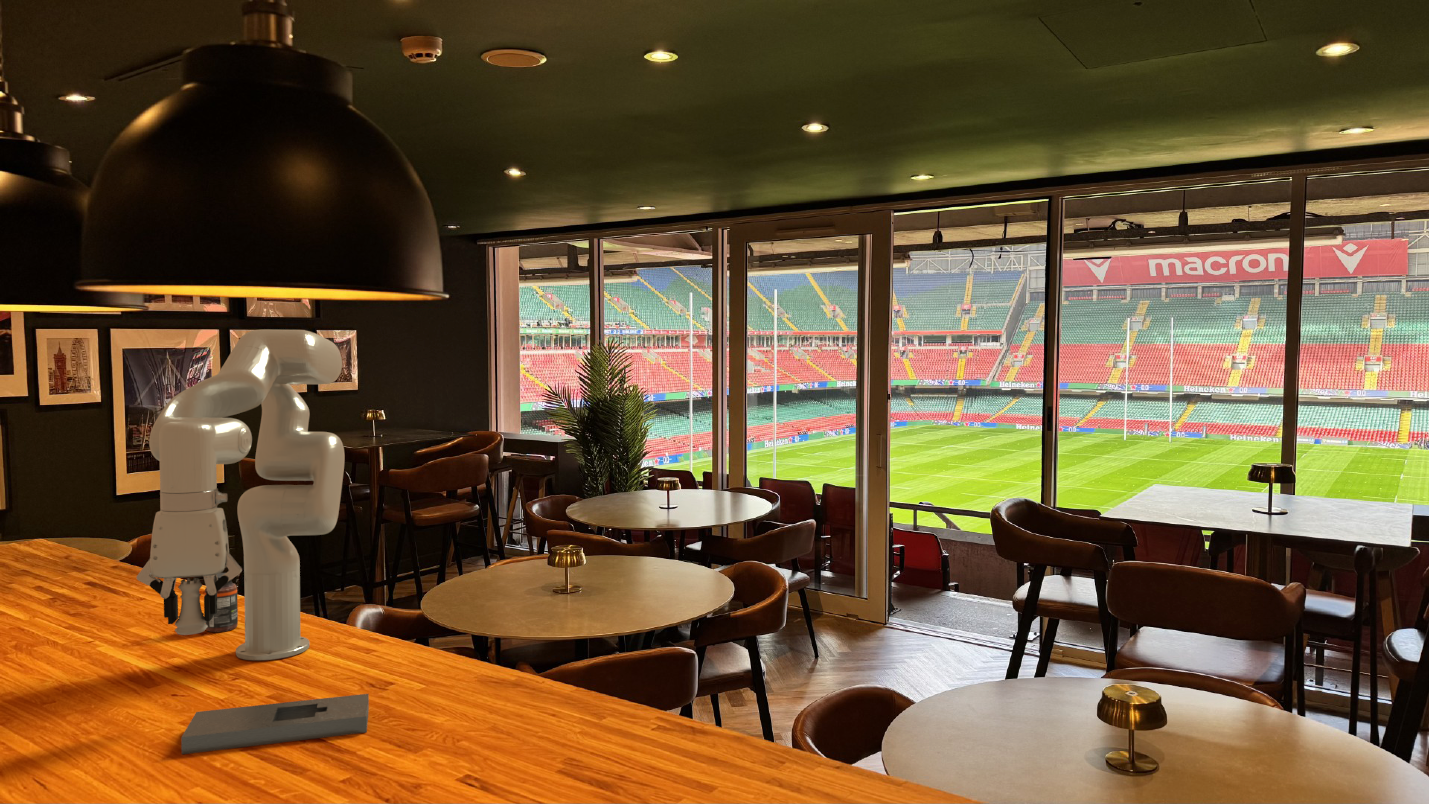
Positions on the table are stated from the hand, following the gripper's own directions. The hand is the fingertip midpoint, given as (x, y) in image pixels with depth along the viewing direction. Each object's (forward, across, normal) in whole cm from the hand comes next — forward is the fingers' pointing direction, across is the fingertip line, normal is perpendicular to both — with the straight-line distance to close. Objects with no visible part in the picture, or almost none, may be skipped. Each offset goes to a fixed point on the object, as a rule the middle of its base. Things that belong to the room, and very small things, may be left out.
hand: (191, 619), depth 140 cm
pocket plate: (+15, -14, +10) cm, 23 cm away
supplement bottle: (+16, +5, -52) cm, 55 cm away
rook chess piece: (+2, 0, 0) cm, 2 cm away
